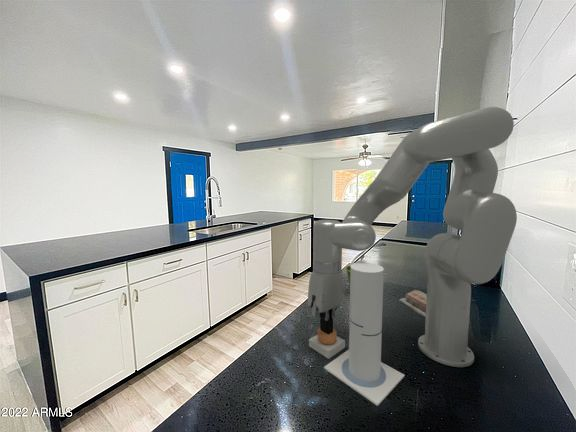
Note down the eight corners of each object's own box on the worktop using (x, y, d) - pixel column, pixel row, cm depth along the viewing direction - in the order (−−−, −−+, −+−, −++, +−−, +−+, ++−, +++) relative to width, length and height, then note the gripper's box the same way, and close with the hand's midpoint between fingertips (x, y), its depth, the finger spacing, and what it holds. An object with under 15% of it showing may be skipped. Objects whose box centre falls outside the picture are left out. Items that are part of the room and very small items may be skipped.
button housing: (325, 336, 73) (325, 329, 73) (345, 347, 68) (345, 340, 67) (308, 346, 68) (308, 339, 68) (328, 358, 63) (328, 351, 63)
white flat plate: (352, 347, 67) (352, 346, 67) (404, 376, 57) (404, 374, 57) (323, 368, 60) (323, 366, 60) (377, 406, 49) (377, 403, 49)
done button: (325, 330, 71) (325, 324, 71) (340, 338, 67) (340, 331, 67) (313, 337, 68) (313, 330, 68) (328, 346, 64) (328, 339, 64)
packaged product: (462, 307, 81) (436, 311, 78) (461, 321, 81) (436, 325, 79) (420, 287, 98) (398, 289, 96) (420, 298, 99) (398, 301, 96)
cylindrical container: (356, 356, 63) (358, 261, 61) (384, 368, 59) (388, 266, 56) (343, 372, 58) (345, 268, 55) (373, 387, 53) (376, 274, 51)
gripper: (333, 258, 73) (333, 317, 75) (297, 268, 64) (297, 335, 65) (355, 263, 68) (354, 327, 70) (318, 276, 58) (318, 349, 60)
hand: (326, 331), depth 67 cm, fingers closed
